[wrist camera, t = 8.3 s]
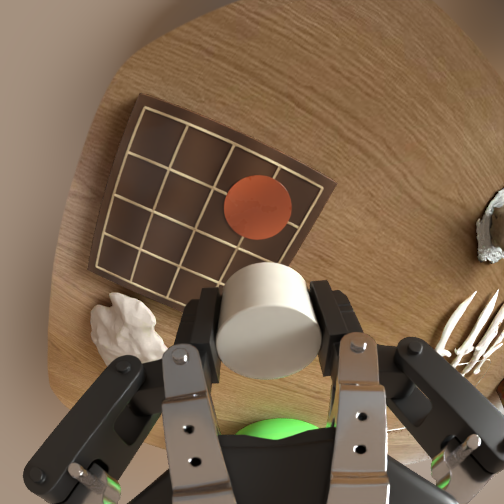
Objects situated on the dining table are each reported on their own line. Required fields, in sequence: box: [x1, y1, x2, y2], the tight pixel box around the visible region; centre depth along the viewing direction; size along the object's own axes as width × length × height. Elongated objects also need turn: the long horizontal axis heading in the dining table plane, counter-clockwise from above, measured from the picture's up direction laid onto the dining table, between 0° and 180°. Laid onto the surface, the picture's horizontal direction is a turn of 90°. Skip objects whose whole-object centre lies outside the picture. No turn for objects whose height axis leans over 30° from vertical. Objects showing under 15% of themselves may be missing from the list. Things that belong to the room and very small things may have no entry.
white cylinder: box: [215, 262, 322, 380], centre depth 12 cm, size 4×4×3 cm
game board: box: [87, 93, 337, 312], centre depth 25 cm, size 18×18×2 cm
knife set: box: [387, 289, 504, 431], centre depth 38 cm, size 26×35×1 cm
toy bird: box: [235, 418, 319, 440], centre depth 35 cm, size 18×17×15 cm
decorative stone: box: [90, 293, 168, 366], centre depth 30 cm, size 11×4×15 cm
